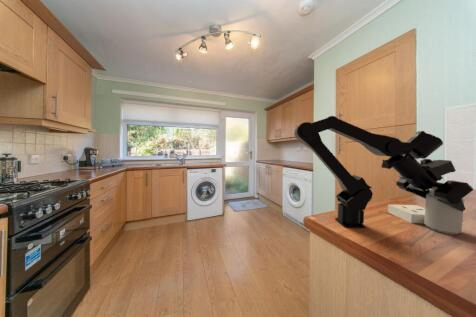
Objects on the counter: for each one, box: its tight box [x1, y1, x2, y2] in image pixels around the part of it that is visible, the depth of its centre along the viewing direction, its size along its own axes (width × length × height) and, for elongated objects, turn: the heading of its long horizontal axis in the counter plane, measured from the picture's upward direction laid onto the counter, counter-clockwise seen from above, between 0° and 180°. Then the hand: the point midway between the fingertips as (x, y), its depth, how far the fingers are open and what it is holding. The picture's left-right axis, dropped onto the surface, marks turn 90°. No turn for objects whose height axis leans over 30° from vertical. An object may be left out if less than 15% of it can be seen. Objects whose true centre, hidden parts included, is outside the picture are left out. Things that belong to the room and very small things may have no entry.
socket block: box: [387, 204, 425, 224], centre depth 63 cm, size 10×10×3 cm
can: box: [423, 189, 465, 235], centre depth 53 cm, size 8×8×12 cm
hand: (448, 205), depth 53 cm, fingers closed on can, 7 cm apart
